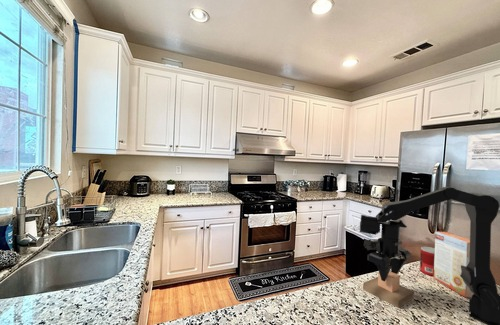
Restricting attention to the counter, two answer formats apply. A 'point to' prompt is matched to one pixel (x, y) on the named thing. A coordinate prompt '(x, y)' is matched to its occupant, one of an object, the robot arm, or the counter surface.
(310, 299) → the counter surface
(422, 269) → the canned food
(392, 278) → the cube
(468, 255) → the cracker box
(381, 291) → the base slab
